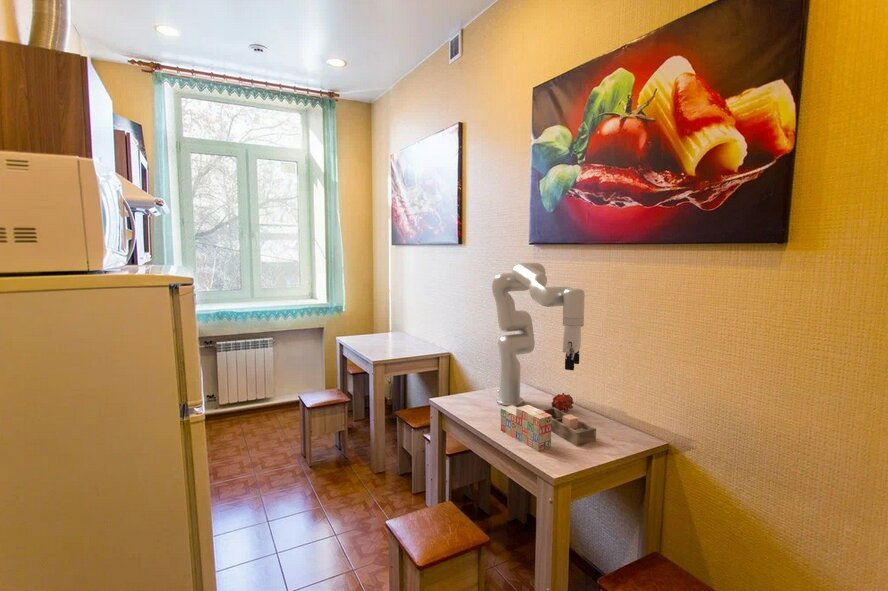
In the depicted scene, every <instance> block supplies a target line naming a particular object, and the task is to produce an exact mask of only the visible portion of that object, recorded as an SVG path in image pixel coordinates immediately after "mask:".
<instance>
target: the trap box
mask: <svg viewBox="0 0 888 591" xmlns="http://www.w3.org/2000/svg"><path fill="white" fill-rule="evenodd" d="M541 410H542V411H544V412H546V413H548V414H550V415H552V430H551V433H553V434H555V435H557V436H559V438H562V439H563V440H564V441H565V440H566V441H567V442H569V443H571V444H572V445H574V446H576V447H580V446H584V445H587V444H592V443H596V442H597V428H596V427H594V426H592V425H590V424H588V423H586V422H584V421H582V420H580V419H578V428H576V429H572V428H570V427H568V426H566V425H564V424H562V417H563V416H565V415H569V414H567V412H566V413H565V412H564V411H560V410H558V409H556V408H553V407H550V408H545V409H541Z"/></svg>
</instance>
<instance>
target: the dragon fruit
mask: <svg viewBox="0 0 888 591" xmlns="http://www.w3.org/2000/svg"><path fill="white" fill-rule="evenodd" d="M574 403H575V402H574V399H573V397H572V396H571V395H570V394H565V393H564V392H562V394H559V393H558V394H556V395H555V396H554V397H553V398H552V402H551V408H556V409H558V410H560V411H562V412H564V413H566V414H567V412H568V411H569V409H573V408H574V405H573V404H574Z"/></svg>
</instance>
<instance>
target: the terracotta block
mask: <svg viewBox="0 0 888 591" xmlns="http://www.w3.org/2000/svg"><path fill="white" fill-rule="evenodd" d="M578 420H579V418H578V416H577V417H576V416H575V415H572V414H571V413H570V414H568V415H565V416H563V417H562V424H564V425H566V426H568V427H570V428H572V429H576V428H578Z"/></svg>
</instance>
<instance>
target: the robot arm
mask: <svg viewBox="0 0 888 591" xmlns="http://www.w3.org/2000/svg"><path fill="white" fill-rule="evenodd" d="M546 272H547V271H546V268H545V266H544V265H543V264H541V263H539V262H521V263H518V264H516V265H515V266H514V267H513V268H512V272H505V273H499V274H497V275H495V276H494V278H493V280H492V283H491V290H492V294H493V297H494V298H493V299H494V300H495V305H496V313H497V321H498V322H497V323H498V327H499V330H500V331H501V332H504V333H507V332H508V333H509V332H511V334H505V335H503V336H501V337H500V338H499V339H498V341H497V350H498V356H499V389H497V390H496V391H497V392H496V393H498V396H496V398H495V401H496V403H498V404H499V405H501V406H505V407H507V406H511V405H513V406H515V407H517V406H520V405H522V404H523V403H524V398H523V397H521V362H520V360H519V359H518V357H517V356H519V355H525V354H530V353H532V352H533V351H534V349H535V344H536V342H535V334H534V325H533V320H532V316H531V315H530V313H529V312H528V311H527V310H524V309H523V310H519V309H518V310H516V304H515V300H514V298H513V296H512V294H510V292H524V291H525V292H526V291H528V290H529V294H530V298H532V300H533V301H535V302H536V303H537V304H539V305H541V306H543V307H546V308H551V307H562V326H563V327H564V329H563V330H564V331H563V337H562V339H563V340H562V353H565V358H564V369H565V370H566V371H575V365H579V364H580V349H581V347H582V346H581V344H582V342H581V341H582V327H584V326H585V322H584V321H585V295H586V294H585V290H584V289H582V288H573V287H571V286H564V285H563V286H547V283H548V278H547V276H546ZM512 332H518V333H514V334H512Z"/></svg>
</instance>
